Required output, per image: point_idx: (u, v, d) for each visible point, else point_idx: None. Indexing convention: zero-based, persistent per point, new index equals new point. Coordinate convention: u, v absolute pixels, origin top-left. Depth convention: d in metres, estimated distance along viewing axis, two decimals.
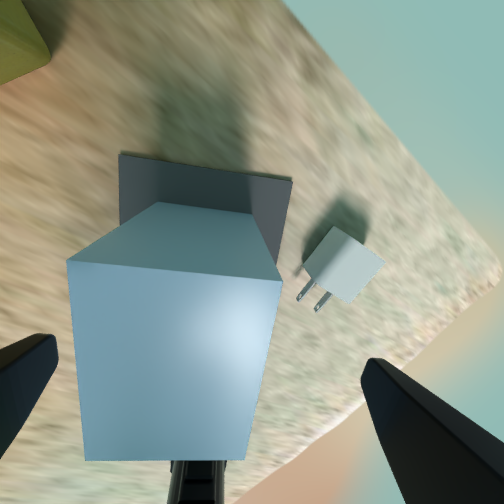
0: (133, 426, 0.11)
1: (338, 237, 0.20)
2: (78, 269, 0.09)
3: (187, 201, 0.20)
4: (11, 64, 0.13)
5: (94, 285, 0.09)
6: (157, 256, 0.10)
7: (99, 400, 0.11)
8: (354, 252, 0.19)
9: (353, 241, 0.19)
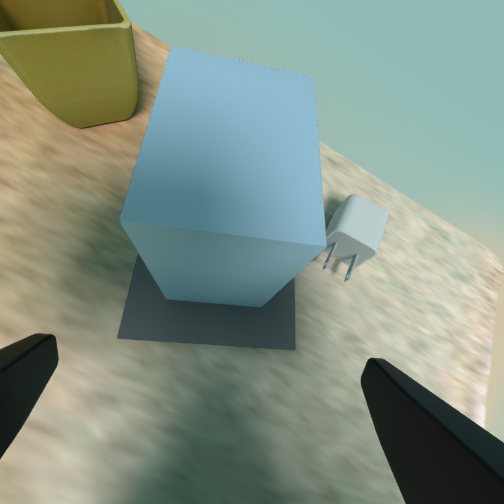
0: (193, 176, 0.10)
1: (341, 205, 0.23)
2: (177, 50, 0.12)
3: None
4: (119, 88, 0.22)
5: (186, 59, 0.12)
6: None
7: (163, 141, 0.10)
8: (359, 203, 0.22)
9: (354, 195, 0.22)
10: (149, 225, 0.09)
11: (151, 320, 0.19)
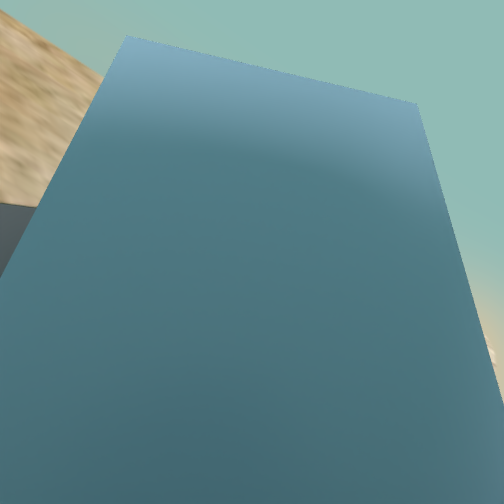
0: (127, 453, 0.03)
1: None
2: (138, 46, 0.06)
3: (9, 246, 0.15)
4: None
5: (154, 66, 0.06)
6: None
7: (52, 309, 0.03)
8: None
9: None
10: None
11: None
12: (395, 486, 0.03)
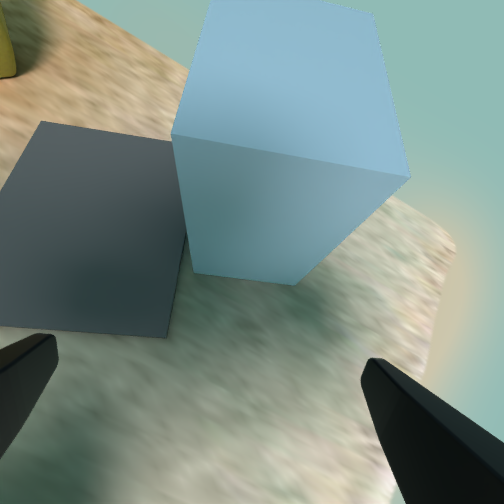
0: (251, 96, 0.08)
1: None
2: None
3: (95, 155, 0.20)
4: None
5: None
6: None
7: (216, 60, 0.09)
8: None
9: None
10: (205, 142, 0.07)
11: None
12: (346, 119, 0.09)
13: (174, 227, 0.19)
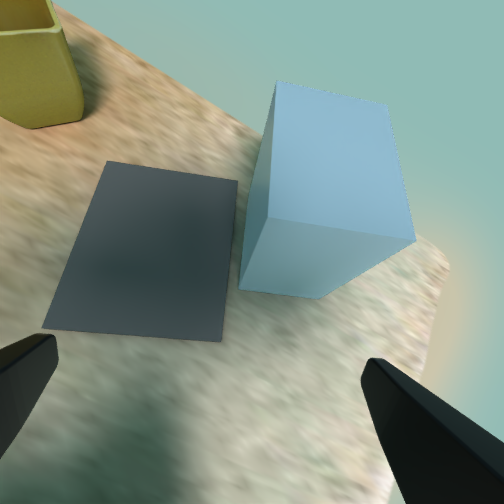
0: (311, 185, 0.13)
1: None
2: (281, 84, 0.16)
3: (153, 190, 0.25)
4: (61, 90, 0.23)
5: (289, 92, 0.15)
6: None
7: (286, 157, 0.13)
8: None
9: None
10: (287, 221, 0.12)
11: (78, 311, 0.19)
12: (373, 199, 0.13)
13: (221, 251, 0.23)
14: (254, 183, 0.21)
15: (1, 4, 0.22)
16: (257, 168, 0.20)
